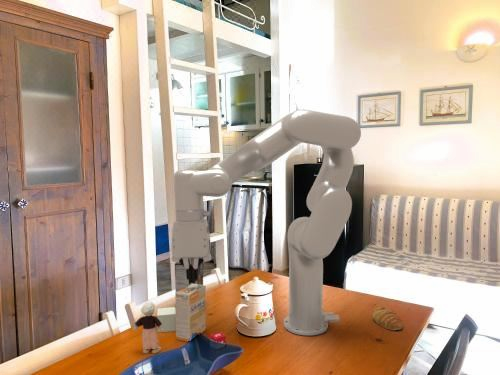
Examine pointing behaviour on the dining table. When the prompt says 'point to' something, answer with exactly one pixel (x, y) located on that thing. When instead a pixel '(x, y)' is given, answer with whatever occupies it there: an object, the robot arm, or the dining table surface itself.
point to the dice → (218, 337)
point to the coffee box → (181, 276)
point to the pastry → (387, 318)
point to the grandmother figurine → (149, 328)
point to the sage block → (167, 318)
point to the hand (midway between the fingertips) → (192, 281)
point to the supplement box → (190, 311)
